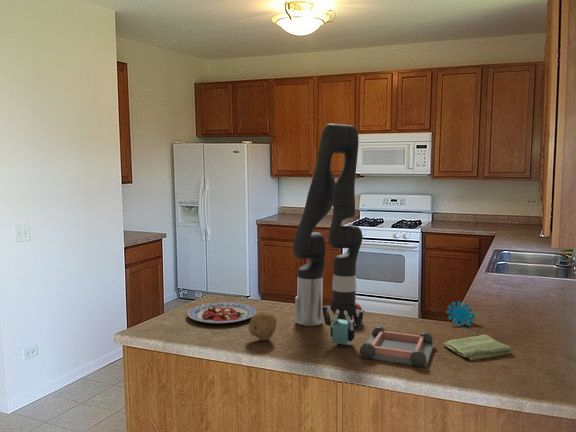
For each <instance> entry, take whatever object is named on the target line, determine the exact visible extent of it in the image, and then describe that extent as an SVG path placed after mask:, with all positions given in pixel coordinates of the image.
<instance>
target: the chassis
mask: <svg viewBox="0 0 576 432" xmlns="http://www.w3.org/2000/svg"><path fill="white" fill-rule="evenodd" d="M433 341H434V338H433V335H432V334H431V333H430V332H427V331H423V332H421V333H420V334H419V335H418V334H411V333H410V334H409V333H403V332H397V331H396V332H393V331H387V330H386V328H385V327H383V326H380V325H379V326H376V327H374V329H373V330H372V331H371V335H370V336H369V338H368V339H367V341H366V342H365V343H363V344H362V346H361V347H360V349H359V355H358V356H359V358H363V359H365V360H378V361H384V362H390V363H397V364H404V365H410V366H411V365H412V366H414V367H416V368H423V367H425V368H428V366H429V361H430V360H431V359H430V358H431V355H432V353H433V350H434V342H433Z"/></svg>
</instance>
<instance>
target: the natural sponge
mask: <svg viewBox="0 0 576 432" xmlns="http://www.w3.org/2000/svg"><path fill="white" fill-rule="evenodd" d="M277 323H278V322H277V318H276V317H275V315H274V314H273V313H271V312H270V311H266V310H260V311H258V312H256V314H255V315H254V316H252V317H251V319H250V321H249V324H248V331H249V334H250V335H252V336H254V337H256V338H258V339H259V340H260V341H262V342H267V341H268V340H269V339H271V338H272V337H273V336H274V333H275V331H276V328H277Z"/></svg>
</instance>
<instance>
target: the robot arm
mask: <svg viewBox="0 0 576 432" xmlns="http://www.w3.org/2000/svg"><path fill="white" fill-rule="evenodd" d="M359 141H360V140H359V132H358V129H357V128H356V126H354V125H349V124H339V123H327V124H326V125H325V126H324V127H323V131H322V132H321V135H320V141H319V145H318V153H317V158H316V163H315V168H314V172H313V176H312V178H311V183H310V186H309V189H308V193H307V197H306V201H305V206H304V209H303V212H302V217H301V219H300V222H299V224H298V227H297V229H296V232H295V234H294V238H293V241H292V253H293V254H294V257H295V258H297V259H300V260H301V259H302V260H304V259H306V260H307V259H309V260H308V261H307V262H306V263H305V264H303V265H301V266H300V267H298V268H297V275H296V277H297V278H296V279H297V284H296V287H297V289H296V291H297V292H296V295H297V296H295V299H294V307H295V308H294V311H295V312H294V323H295V324H298V325H301V326H306V327H314V326H319V325H321V324H322V323H323V319H324V324H325V325H326V326H329V327H330V337H331V338H332V332H333V324H334V323H336V321H338V319H344V320H347V323H348V325H349V328H350V330H349V341H350V342H352V341H354V340H355V336H356V330H359V329H360V328H362V327H361V326H362V323H363V320H364V316H365V314H366V311H365V310H363V309H362V311H361V310H359V309H357V308H356V305H355V302H356V296H357V293H356V292H357V279H356V278H357V277H356V272H357V271H356V266H357V258H358V256H359V252H360V249H361V246H362V242H363V232H362V230H361V228H360V227H359V226H357V225H342V222H343V221H344V220H346V219H351V218H355V216H356V198H355V196H356V194H355V191H356V190H355V184H356V182H355V181H356V174H357V165H358V155H359V154H358V152H359ZM334 154H341V155H342V154H343V155H344V163H343V168H342V170H341V172H340V174H339V176H338V178H337V180H335V177H334V175H333V172H332V169H331V165H332V164H331V163H332V157H333V155H334ZM331 210H332V220H331V224H330V228H329V232H328V243H329V245H330V246H331V247H332V248H333V249H347V251H346V252H345V253H343V254H338V255H336V256H334V257H333V272H332V273H333V275H332V282H331V283H332V285H331V286H332V287H331V304H330V305H327V304H325V305H323V294H324V293H323V287H324V286H323V284H324V283H323V282H324V281H323V279H324V278H323V277H324V275H323V274H324V271H325V265H326V264H325V260H326V259H325V258H326V248H327V247H326V240H325V237H324V235H323V234H322V232H318V231H317V232H315V231H314V230H315V228H316V227H317V226H318V224H319V223H320V222H321V221H322V220H324V218H325V217H326V216H327V215H328V214H329V212H330V211H331ZM313 231H314V232H313ZM331 311H332V313H333V317H332V320H331V315H330V312H331ZM355 312H356V313H357V317H358V320H357V323H356V324H355V323H354V318H353V314H354V313H355Z"/></svg>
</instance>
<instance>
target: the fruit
mask: <svg viewBox="0 0 576 432" xmlns="http://www.w3.org/2000/svg"><path fill="white" fill-rule="evenodd" d="M355 305H356V308H357V309H359V310H361V311H362V310H363V309H362V306H361V305H360V304H359V303H358V302H357V301H355ZM353 318H354V323H355V325H356V323H357V320H358V317H357V313H356V312H355V313H354V314H353ZM342 320H344V319H342Z"/></svg>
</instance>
